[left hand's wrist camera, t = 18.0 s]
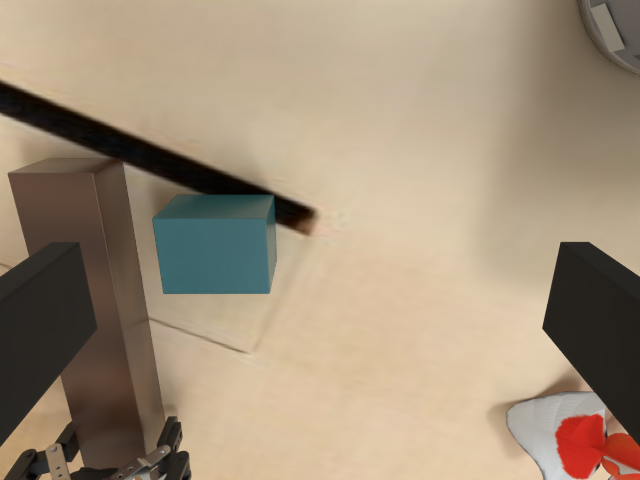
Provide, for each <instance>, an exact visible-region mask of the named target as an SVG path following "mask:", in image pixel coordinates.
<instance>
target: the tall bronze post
mask: <svg viewBox="0 0 640 480" xmlns="http://www.w3.org/2000/svg"><path fill="white" fill-rule="evenodd" d="M8 177H9V181H10V185H11V189H12V192H13V196H14V200H15V204H16V208H17V211H18V215H19V219H20V223H21V227H22V231H23V234H24V238H25V242H26V246H27V250H28V253H29V257H30V256H31V255H33V254H34V253H36V252H37V251H39V250H40V249H42V248H43V247H45V246H46V245H48V244H49V243H50V242H79V243H80V248H81V252H82V257H83V262H84V266H85V271H86V276H87V280H88V285H89V290H90V294H91V299H92V304H93V308H94V313H95V318H96V322H97V327H98V329H97V330H96V331H95V332H94V334H93V335H92V336H91V337H90V339H89V340H88V341H87V342H86V343H85V345H84V346H83V347H82V348H81V350H80V351H79V352H78V353H77V354H76V356H75V357H74V358H73V359H72V360H71V362H70V363H69V364H68V365H67V367H66V368H65V369H64V370H63V371H62V373H61V374H60V376H61V379H62V383H63V387H64V391H65V395H66V398H67V402H68V406H69V410H70V414H71V418H72V421H73V425H74V429H75V433H76V437H77V440H78V444H79V448H80V452H81V456H82V460H83V463H84V467H90V468H94V469H98V470H100V469H105V468H118V469H119V470H120V469H121V468H123V467H124V466H126V465H127V464H129V463H130V462H131V461H133V460H134V459H136V458H140V459H142V458H144V457H146V456H147V455H148V454H150V453H151V452H153V451H154V450H155V449H157V445H156V444H157V442H158V440H159V437H160V435H161V433H162V430H163V428H164V426H165V418H164V412H163V406H162V400H161V394H160V388H159V381H158V375H157V369H156V363H155V357H154V351H153V345H152V339H151V333H150V327H149V321H148V315H147V309H146V302H145V296H144V290H143V284H142V278H141V272H140V266H139V260H138V254H137V248H136V242H135V236H134V230H133V223H132V217H131V211H130V205H129V199H128V193H127V187H126V181H125V175H124V169H123V163H122V159H45V160H42V161H40V162H37V163H34V164H31V165H29V166H26V167H23V168H20V169H18V170H15V171H12V172H9V173H8Z"/></svg>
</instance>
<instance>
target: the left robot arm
mask: <svg viewBox="0 0 640 480" xmlns="http://www.w3.org/2000/svg"><path fill="white" fill-rule="evenodd" d="M578 3H579V9H580V13H581V17H582V20H583V23H584V25H585V28H586V30H587V32H588V34H589V36H590V38H591V39H592V41H593V42H594V44H595V45H596V47H597V48H598V49H599V50H600V51H601V52H602V54H604V55H605V56H606V57H607V58H608V59H609V60H610V61H612V62H613V63H615V64H616V65H618V66H620V67H622V68H624V69H626V70H628V71H631V72H634V73H637V74H640V0H578ZM97 329H98V327H97V322H96V318H95V313H94V308H93V304H92V299H91V294H90V290H89V285H88V280H87V276H86V271H85V266H84V262H83V257H82V252H81V248H80V243H79V242H50V243H49V244H48V245H46V246H45V247H43V248H42V249H40V250H39V251H37V252H36V253H34V254H33V255H31V256H30V257H29V258H27V259H26V260H24V261H23V262H21V263H20V264H18V265H17V266H15V267H14V268H12V269H11V270H9V271H8V272H7V273H5V274H4V275H2V276H1V277H0V447H1V446H2V444H3V443H4V442H5V441H6V439H7V438H8V437H9V436H10V435H11V433H12V432H13V431H14V430H15V429H16V427H17V426H18V425H19V424H20V422H21V421H22V420H23V419H24V418H25V416H26V415H27V414H28V413H29V412H30V410H31V409H32V408H33V407H34V405H35V404H36V403H37V402H38V401H39V399H40V398H41V397H42V396H43V394H44V393H45V392H46V391H47V390H48V388H49V387H50V386H51V385H52V384H53V382H54V381H55V380H56V379H57V377H58V376H59V375H60V374H61V373H62V371H63V370H64V369H65V368H66V367H67V365H68V364H69V363H70V362H71V360H72V359H73V358H74V357H75V356H76V354H77V353H78V352H79V351H80V350H81V348H82V347H83V346H84V345H85V343H86V342H87V341H88V340H89V339H90V337H91V336H92V335H93V334H94V332H95V331H96V330H97ZM542 329H543V330H544V331H545V332H546V334H547V335H548V336H549V337H550V339H551V340H552V341H553V342H554V343H555V345H556V346H557V347H558V348H559V350H560V351H561V352H562V353H563V354H564V356H565V357H566V358H567V359H568V360H569V362H570V363H571V364H572V365H573V367H574V368H575V369H576V370H577V371H578V373H579V374H580V375H581V376H582V377H583V379H584V380H585V381H586V382H587V384H588V385H589V386H590V387H591V388H592V390H593V391H594V392H595V393H596V394H597V396H598V397H599V398H600V399H601V401H602V402H603V403H604V404H605V405H606V407H607V408H608V409H609V410H610V412H611V413H612V414H613V415H614V416H615V418H616V419H617V420H618V421H619V422H620V424H621V425H622V426H623V427H624V429H625V430H626V431H627V432H628V433H629V435H630V436H631V437H632V438H633V439H634V441H635V442H636V443H637V444H638V446H639V447H640V277H639V276H638V275H636V274H635V273H633V272H632V271H631V270H629V269H628V268H626V267H625V266H623V265H622V264H620V263H619V262H617V261H616V260H614V259H613V258H611V257H610V256H609V255H607V254H606V253H604V252H603V251H601V250H600V249H598V248H597V247H595V246H594V245H592V244H591V243H590V242H561V243H560V248H559V252H558V257H557V262H556V266H555V271H554V276H553V280H552V285H551V290H550V294H549V299H548V304H547V308H546V313H545V318H544V322H543V327H542Z"/></svg>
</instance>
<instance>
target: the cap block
mask: <svg viewBox="0 0 640 480" xmlns="http://www.w3.org/2000/svg"><path fill="white" fill-rule="evenodd" d="M152 220H153V227H154V233H155V240H156V247H157V253H158V260H159V267H160V274H161V280H162V287H163V293H164V294H269V293H270V289H271V285H272V280H273V275H274V271H275V266H276V261H277V254H276V230H275V206H274V195H177V196H176V197H175V198H174V199H173V200H172V201H170V202H169V203H168V204H167V205H166V206H165V207H164V208H163V209H162V210H161V211H160V212H159V213H158V214H157V215H156V216H155V217H154V218H153V219H152Z"/></svg>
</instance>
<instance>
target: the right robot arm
mask: <svg viewBox="0 0 640 480" xmlns="http://www.w3.org/2000/svg"><path fill="white" fill-rule="evenodd" d="M181 440H182V429H181V422H178V421H177V416H169V417H168V419H167V421H166V423H165V426H164V428H163V430H162V433H161V435H160V437H159V440H158V442H157V444H156V445H157V449H155V450H154V451H153V452H151V453H150V454H148V455H147V456H146V457H144V458H142V459H140V458H136V459H134V460H133V461H131V462H130V463H129V464H127V465H126V466H124V467H123V468H121V469H120V470H119V469H118V468H105V469H100V470H98V469H94V468H90V467H81V468H80V470H79V471H76V472H73V473H71V474H69V471H68V467H67V464H66V462H72V461H73V459H74V458H75V456H76V454H77V453H78V451H79V449H80V448H79V444H78V440H77V437H76V433H75V429H74V425H73V421H71V422H70V423H69V424H68V425H67V426H66V428H65V430H63V432H62V433H61V435H60V436H59V438H58V439H57V440H56V442H55V443H54V444H52V445H50V446H49V447H47V449H46V450H44V451H40V452H36V450H35V449H29V450H26V451H24V452H23V453H22V454H21V455H20V457H19V458H18V460H17V461H16V463H15V464H14V465H13V467H12V468H11V470H10V471H9V473H8V474H7V476H6V477H5V479H4V480H39V478H40V477H41V475H42V474H45V473H49V472H50V473H51V478H52V480H132V479H134V478H135V480H190V479H191V470H190V464H189V453H188V452H187V451H180V452H178V453H177V451H178V448H179V445H180V443H181ZM156 466H158V467H156ZM155 467H156V468H155ZM153 468H155V469H154V470H152V469H153ZM151 470H152V471H151ZM150 471H151V472H150Z"/></svg>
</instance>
